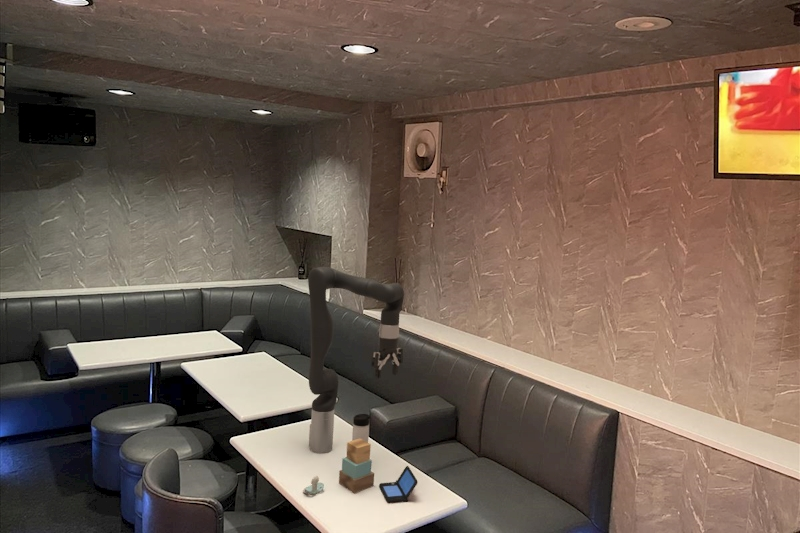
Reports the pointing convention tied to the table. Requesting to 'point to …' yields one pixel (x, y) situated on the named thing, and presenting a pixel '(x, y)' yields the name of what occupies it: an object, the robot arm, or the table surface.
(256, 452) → the table surface
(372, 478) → the bottom block
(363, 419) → the travel mug
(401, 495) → the handheld game console
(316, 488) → the pacifier
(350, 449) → the oak cube
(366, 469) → the top block
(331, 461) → the table surface
